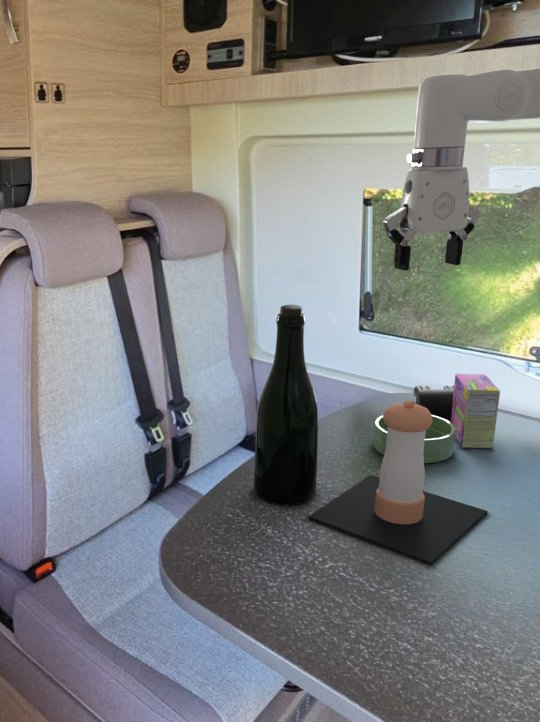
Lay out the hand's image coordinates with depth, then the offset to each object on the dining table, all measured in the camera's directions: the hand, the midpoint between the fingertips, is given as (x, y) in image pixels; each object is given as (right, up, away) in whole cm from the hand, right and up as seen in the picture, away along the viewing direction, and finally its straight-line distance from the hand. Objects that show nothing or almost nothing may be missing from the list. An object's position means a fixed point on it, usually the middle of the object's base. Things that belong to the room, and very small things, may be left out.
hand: (427, 266), depth 121 cm
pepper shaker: (-7, -41, -6) cm, 42 cm away
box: (+18, -30, +21) cm, 41 cm away
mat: (-7, -41, -6) cm, 42 cm away
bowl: (+5, -32, +18) cm, 37 cm away
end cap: (+16, -27, +31) cm, 44 cm away
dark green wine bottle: (-23, -39, +4) cm, 45 cm away
